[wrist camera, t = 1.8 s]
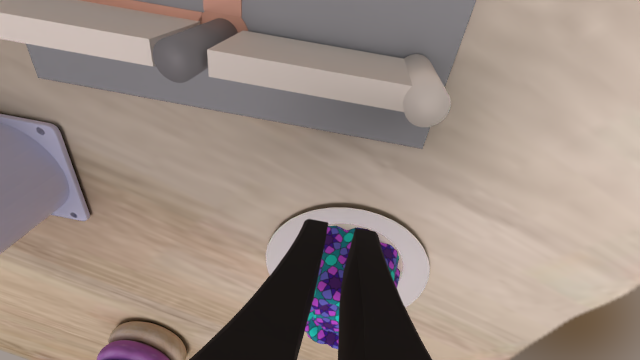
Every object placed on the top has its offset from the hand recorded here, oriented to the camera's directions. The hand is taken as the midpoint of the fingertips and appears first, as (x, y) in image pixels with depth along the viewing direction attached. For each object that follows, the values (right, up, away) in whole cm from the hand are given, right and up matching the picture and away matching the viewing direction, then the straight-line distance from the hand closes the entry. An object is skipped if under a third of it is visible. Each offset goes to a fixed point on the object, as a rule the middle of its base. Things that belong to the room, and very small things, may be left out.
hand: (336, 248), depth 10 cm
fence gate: (0, +8, +5) cm, 9 cm away
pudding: (+1, -4, +15) cm, 15 cm away
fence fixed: (-10, +10, +6) cm, 15 cm away
